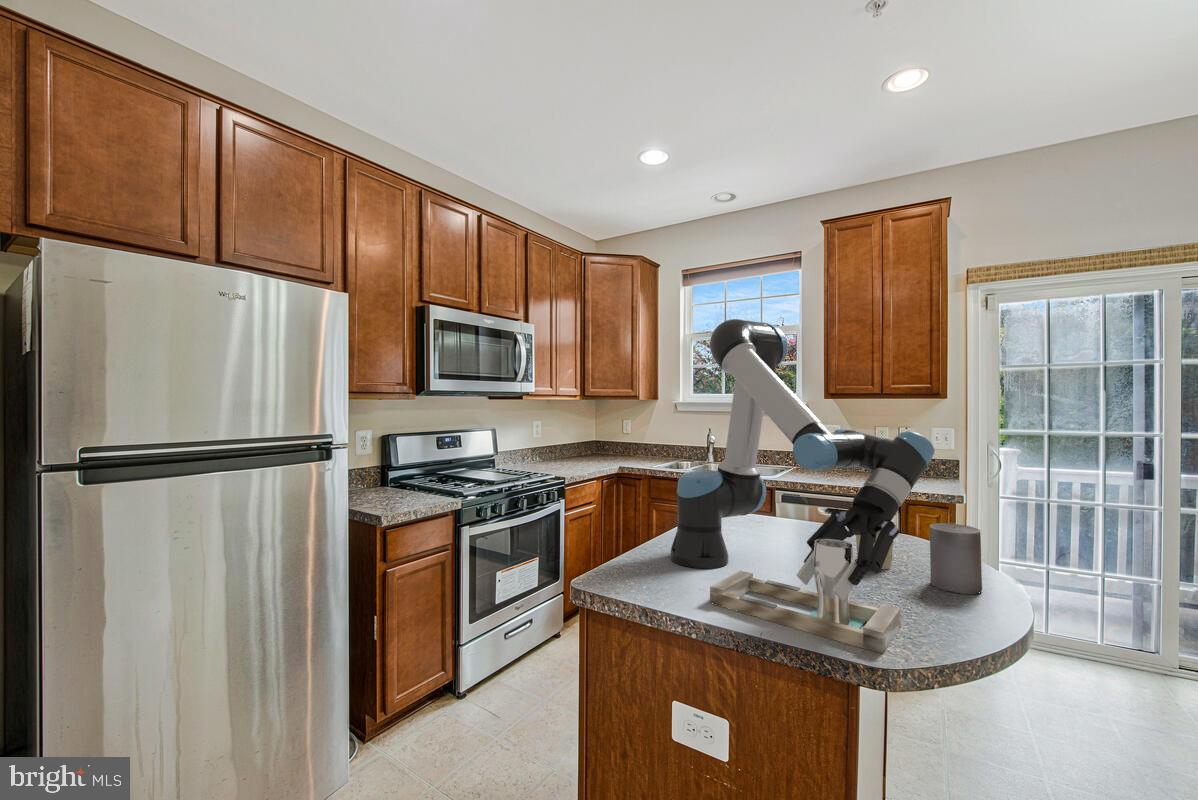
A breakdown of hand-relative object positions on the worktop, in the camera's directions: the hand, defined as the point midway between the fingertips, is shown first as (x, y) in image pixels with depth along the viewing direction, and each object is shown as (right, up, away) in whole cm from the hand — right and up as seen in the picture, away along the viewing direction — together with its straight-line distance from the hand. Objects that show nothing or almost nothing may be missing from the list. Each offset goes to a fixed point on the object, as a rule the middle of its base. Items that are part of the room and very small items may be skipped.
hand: (819, 587), depth 94 cm
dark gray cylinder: (+41, -8, +21) cm, 47 cm away
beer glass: (+3, -7, +1) cm, 8 cm away
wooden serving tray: (-1, -7, +5) cm, 9 cm away
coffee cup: (+31, -8, +38) cm, 50 cm away
